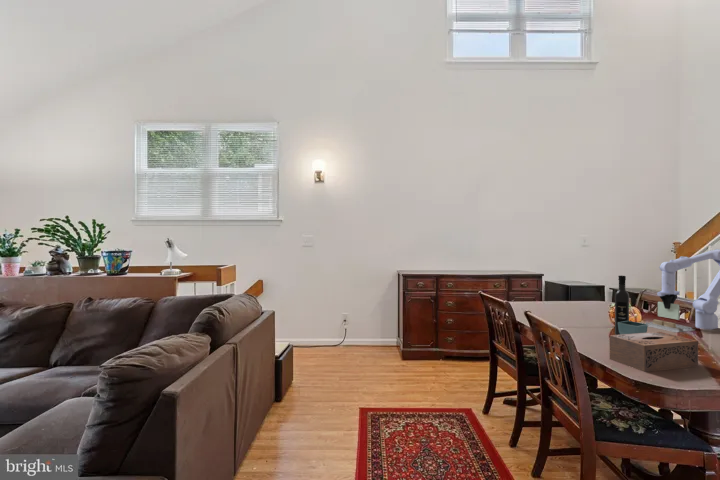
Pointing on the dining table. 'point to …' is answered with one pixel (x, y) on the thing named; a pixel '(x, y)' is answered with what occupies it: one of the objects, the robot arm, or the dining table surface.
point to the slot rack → (678, 327)
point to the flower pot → (631, 327)
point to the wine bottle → (621, 304)
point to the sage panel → (669, 311)
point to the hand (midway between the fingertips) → (668, 308)
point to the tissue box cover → (654, 351)
